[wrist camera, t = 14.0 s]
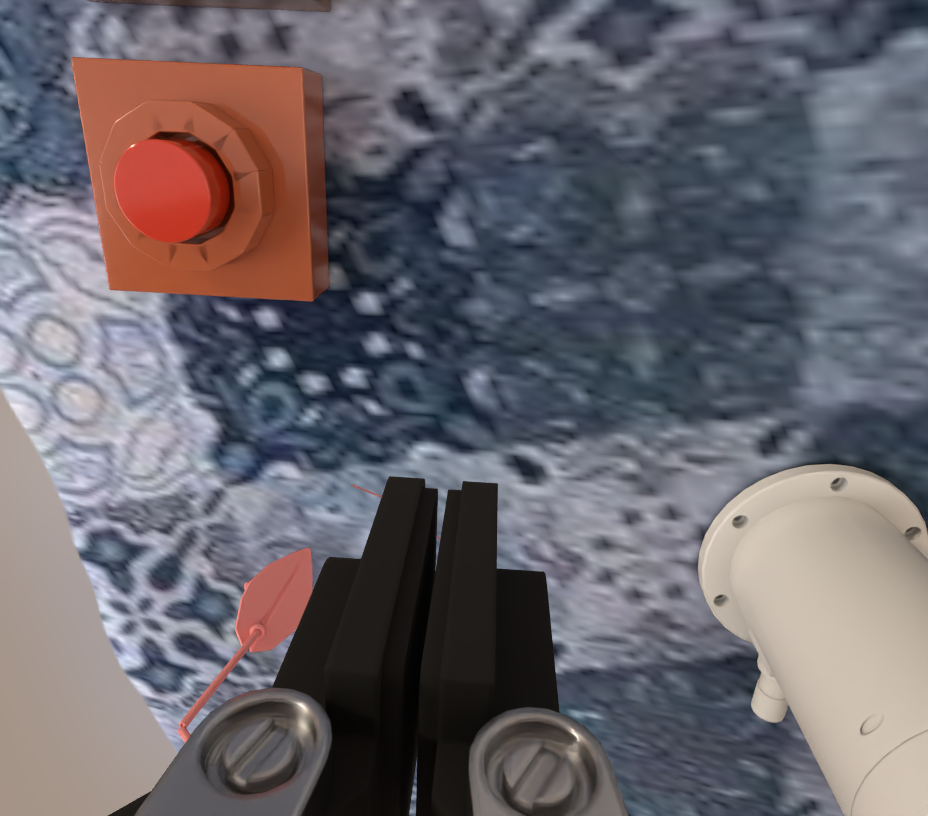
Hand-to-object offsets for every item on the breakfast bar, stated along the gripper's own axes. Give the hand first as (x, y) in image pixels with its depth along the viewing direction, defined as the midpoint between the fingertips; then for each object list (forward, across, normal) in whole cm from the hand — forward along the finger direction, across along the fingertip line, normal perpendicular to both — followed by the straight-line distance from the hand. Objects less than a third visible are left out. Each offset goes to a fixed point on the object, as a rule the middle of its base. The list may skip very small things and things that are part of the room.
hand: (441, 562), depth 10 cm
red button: (+21, +13, -3) cm, 25 cm away
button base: (+25, +13, -4) cm, 28 cm away
